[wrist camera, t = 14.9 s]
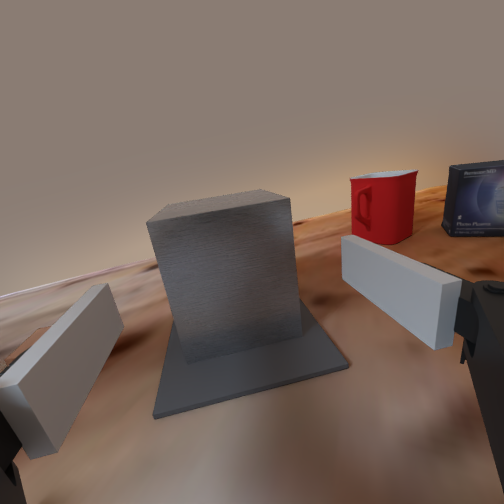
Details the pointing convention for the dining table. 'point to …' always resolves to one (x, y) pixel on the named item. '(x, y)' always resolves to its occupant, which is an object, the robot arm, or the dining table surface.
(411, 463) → the dining table surface
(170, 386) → the charcoal mat
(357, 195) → the mug
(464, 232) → the small box
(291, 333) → the steel cover
